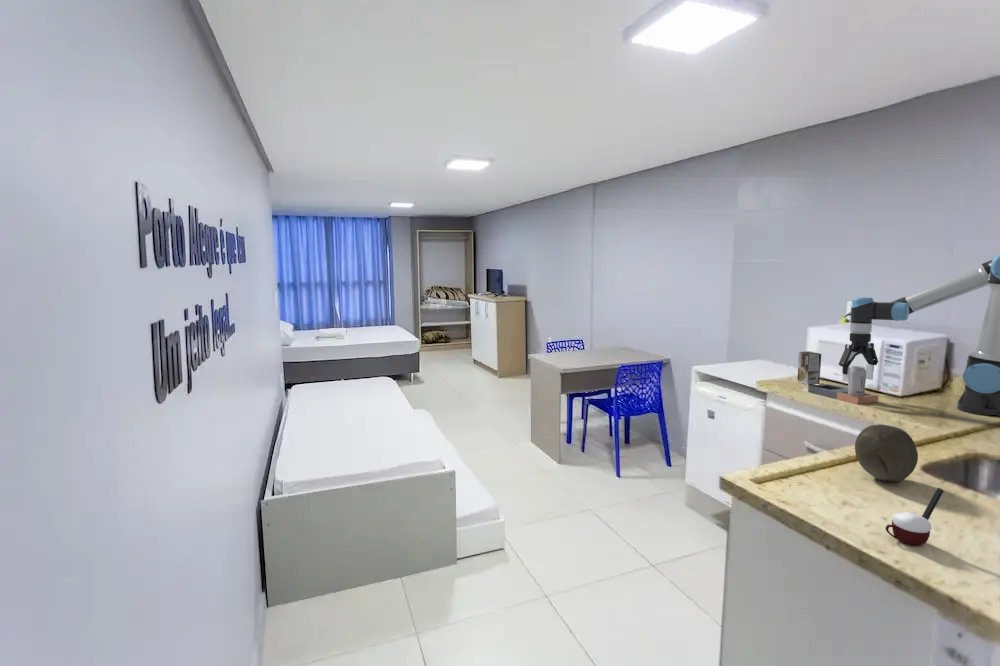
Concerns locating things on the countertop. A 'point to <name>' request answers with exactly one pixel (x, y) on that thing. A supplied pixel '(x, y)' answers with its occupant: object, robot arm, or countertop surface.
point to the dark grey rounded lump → (886, 452)
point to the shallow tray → (841, 394)
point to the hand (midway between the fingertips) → (857, 380)
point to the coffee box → (809, 367)
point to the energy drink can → (857, 381)
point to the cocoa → (914, 524)
